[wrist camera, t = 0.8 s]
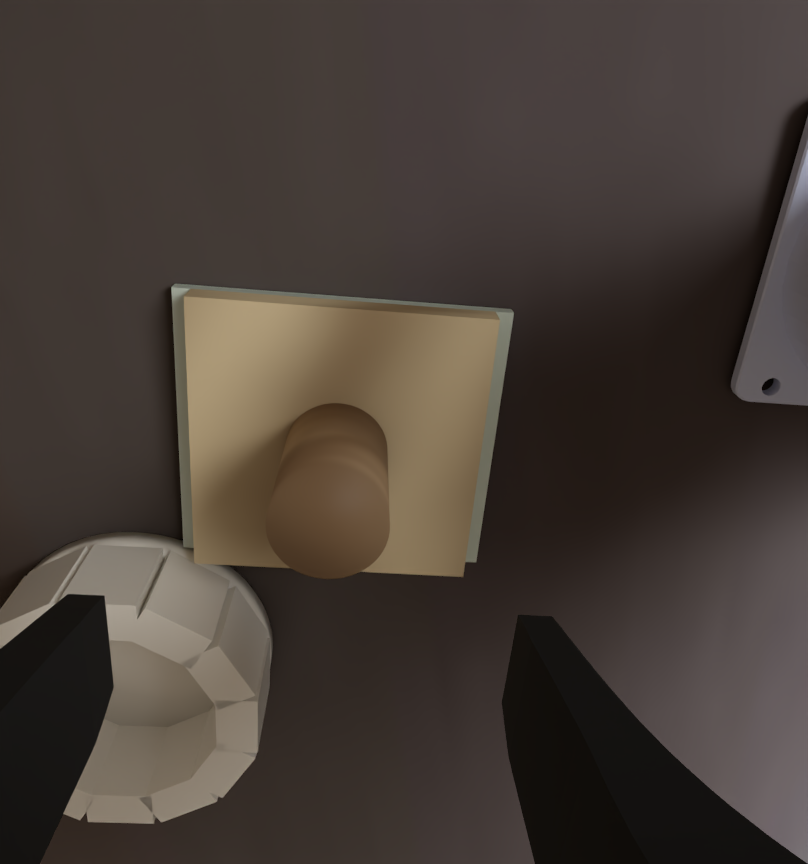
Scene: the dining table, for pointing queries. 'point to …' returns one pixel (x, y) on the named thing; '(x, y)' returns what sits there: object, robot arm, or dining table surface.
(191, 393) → the lid
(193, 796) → the bowl
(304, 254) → the dining table surface
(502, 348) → the plate
